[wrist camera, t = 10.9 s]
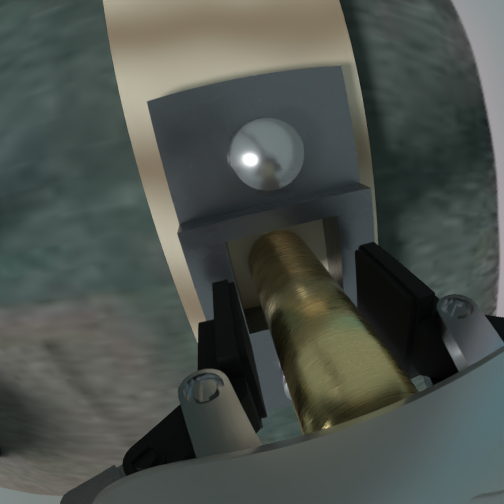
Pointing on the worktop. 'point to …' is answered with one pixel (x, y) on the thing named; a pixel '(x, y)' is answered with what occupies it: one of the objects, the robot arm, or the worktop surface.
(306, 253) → the pin
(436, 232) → the worktop surface
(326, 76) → the riveted slotted plate
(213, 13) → the jig board
